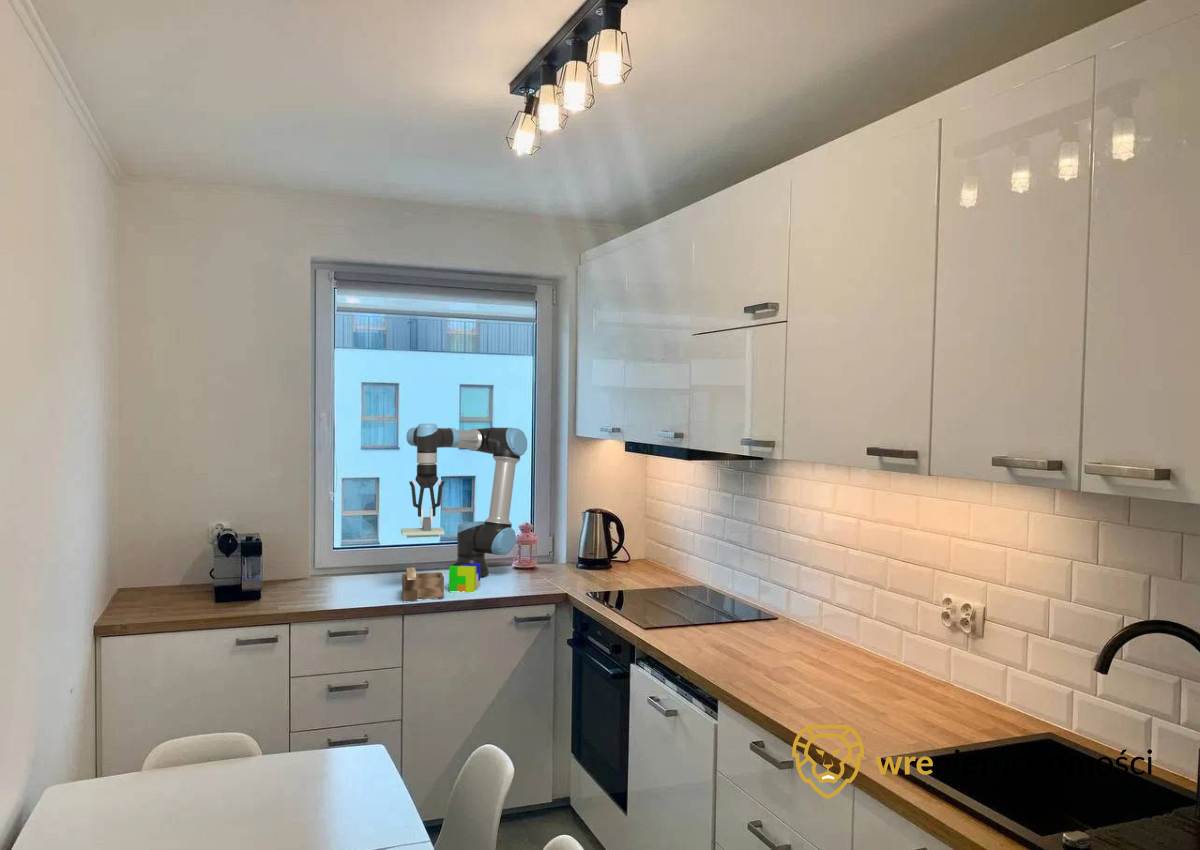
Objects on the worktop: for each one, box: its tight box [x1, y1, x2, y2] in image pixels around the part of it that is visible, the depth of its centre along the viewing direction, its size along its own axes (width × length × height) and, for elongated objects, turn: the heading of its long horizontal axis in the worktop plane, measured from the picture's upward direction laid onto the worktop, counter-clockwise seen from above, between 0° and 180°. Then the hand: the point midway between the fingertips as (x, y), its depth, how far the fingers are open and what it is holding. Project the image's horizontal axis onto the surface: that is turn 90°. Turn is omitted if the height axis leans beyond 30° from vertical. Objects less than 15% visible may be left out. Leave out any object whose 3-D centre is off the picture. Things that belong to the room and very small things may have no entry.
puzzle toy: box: [448, 562, 481, 592], centre depth 340 cm, size 10×10×10 cm
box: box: [401, 572, 445, 602], centre depth 327 cm, size 15×13×9 cm
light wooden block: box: [405, 567, 417, 580], centre depth 316 cm, size 3×8×3 cm, turn 16°
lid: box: [400, 516, 446, 539], centre depth 327 cm, size 16×10×7 cm
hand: (426, 525), depth 328 cm, fingers closed on lid, 3 cm apart
